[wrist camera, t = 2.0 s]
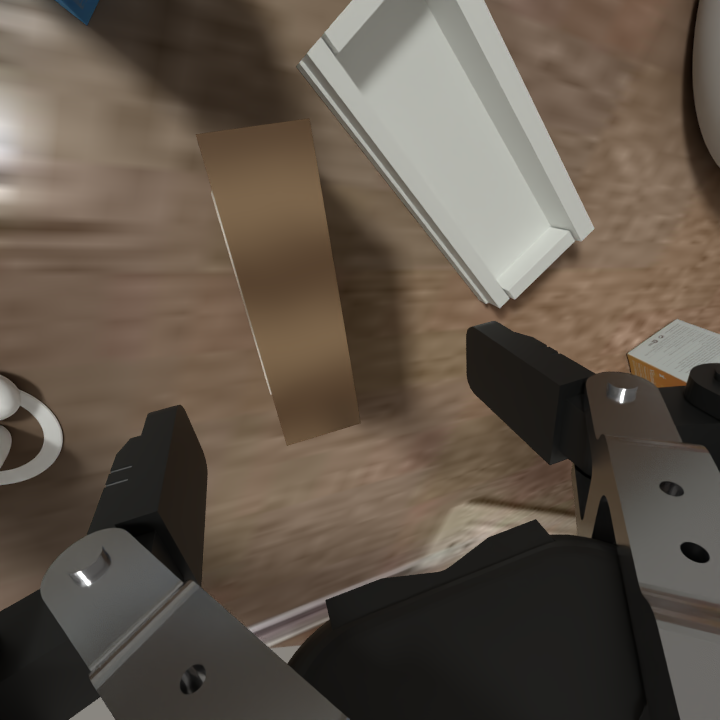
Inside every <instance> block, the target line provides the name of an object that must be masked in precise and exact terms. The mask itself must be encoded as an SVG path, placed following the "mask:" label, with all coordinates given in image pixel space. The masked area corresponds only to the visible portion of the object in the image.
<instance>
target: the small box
mask: <svg viewBox="0 0 720 720" xmlns="http://www.w3.org/2000/svg"><path fill="white" fill-rule="evenodd" d="M627 356H628V360H629V364H630V368H631V374H633V375H636V376H639V377H642V378H644V379H646V380H648V381H650V382H651V383H653V384H654V385H655V386H656V387H657V388H660V387H673V386H686V383H687V380H688V377H689V374H690V370H691V369H692V368H693V367H695V366H697V365H701V364H706V363H720V334H717V333H714V332H712V331H709V330H706V329H703V328H701V327H698V326H695V325H692V324H689V323H687V322H684V321H681V320H679V319H676V320H675V321H673V322H672V323H670V324H668V325H667V326H666V327H664V328H663V329H661V330H660V331H658V332H657V333H656V334H654V335H653V336H651V337H650V338H648V339H647V340H645V341H644V342H643V343H641V344H640V345H638V346H637V347H636V348H634V349H633V350H631V351H630V352H629V353H628V354H627Z"/></svg>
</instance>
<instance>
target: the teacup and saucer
mask: <svg viewBox="0 0 720 720" xmlns="http://www.w3.org/2000/svg"><path fill="white" fill-rule="evenodd" d="M19 406H22V407H23V408H25V409H26V410H28V411H29V412H30V413H31V414H32V415H34V417H35V418H36V419H37V420H38V421H39V423H40V425H41V427H42V429H43V432H44V444H43V447H42V449H41V451H40V452H39V454H38V455H37V456H36V457H35V458H34V459H33V460H32V461H30V462H29V463H27V464H25V465H23V466H21V467H18V468H15V469H11V470H6V471H0V485H6V484H12V483H17V482H21V481H24V480H27V479H30V478H32V477H34V476H36V475H38V474H40V473H42V472H43V471H45V470H46V469H47V468H48V467H50V466H51V465H52V464H53V462H54V461H55V460H56V459H57V457H58V455H59V453H60V451H61V448H62V444H63V434H62V429H61V426H60V424H59V422H58V420H57V418H56V417H55V415H54V414H53V413H52V412H51V410H50V409H49V408H48V407H47V406H46V405H44V404H43V403H42V402H41V401H39V400H38V399H36V398H35V397H33V396H32V395H30V394H28V393H26V392H24V391H22V390H19V389H18V388H17V387H16V385H15V384H14V383H13V382H12V381H10V380H9V379H8V378H6V377H4V376H2V375H0V420H3V419H6V418H8V417H10V416H11V415H13V414H14V413H15V412H16V411H17V410H18V408H19ZM11 443H12V439H11V434H10V432H9V431H8V430H7V429H6V428H5V427H3V426H2V425H0V468H1V466H2V465H3V463H4V461H5V459H6V457H7V455H8V453H9V451H10V448H11Z"/></svg>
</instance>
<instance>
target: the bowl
mask: <svg viewBox="0 0 720 720" xmlns="http://www.w3.org/2000/svg"><path fill="white" fill-rule="evenodd" d="M692 74H693V93H694V102H695V108H696V114H697V119H698V123H699V127H700V130H701V133H702V136H703V139H704V142H705V144H706V146H707V148H708V150H709V152H710V154H711V156H712V158H713V159H714V161H715V162H716V164H717V165H718V166H719V168H720V0H699V6H698V11H697V18H696V25H695V34H694V44H693V67H692Z"/></svg>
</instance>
